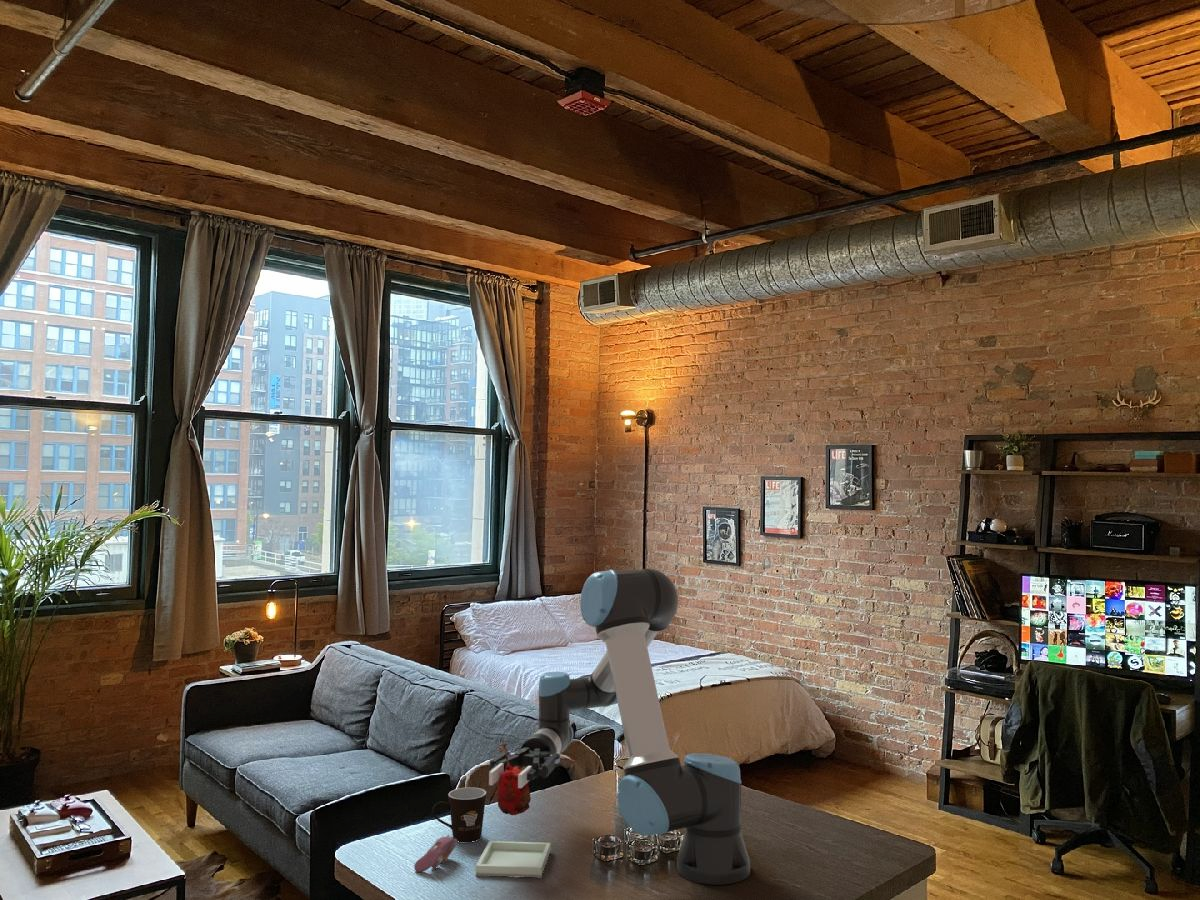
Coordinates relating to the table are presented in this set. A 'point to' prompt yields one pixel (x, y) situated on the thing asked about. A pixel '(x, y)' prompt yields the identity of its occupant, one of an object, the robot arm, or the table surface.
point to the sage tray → (513, 859)
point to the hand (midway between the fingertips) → (505, 780)
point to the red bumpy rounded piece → (512, 790)
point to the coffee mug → (465, 813)
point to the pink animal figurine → (436, 854)
